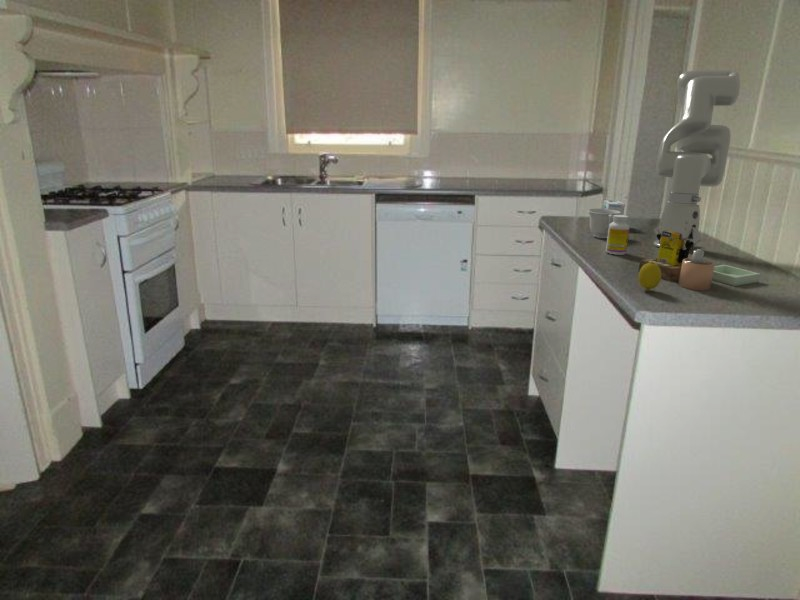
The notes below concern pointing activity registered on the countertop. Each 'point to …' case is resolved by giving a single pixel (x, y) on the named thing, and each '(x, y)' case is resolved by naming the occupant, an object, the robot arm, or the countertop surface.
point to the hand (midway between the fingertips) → (672, 259)
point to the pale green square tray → (734, 275)
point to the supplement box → (670, 248)
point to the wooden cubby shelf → (664, 269)
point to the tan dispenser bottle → (696, 272)
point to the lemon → (649, 275)
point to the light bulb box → (614, 206)
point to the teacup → (601, 221)
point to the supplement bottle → (618, 235)
